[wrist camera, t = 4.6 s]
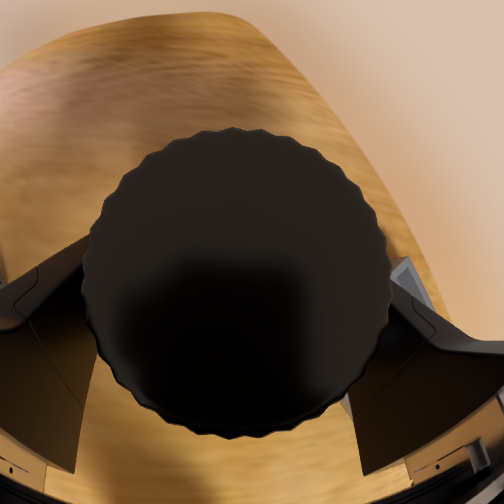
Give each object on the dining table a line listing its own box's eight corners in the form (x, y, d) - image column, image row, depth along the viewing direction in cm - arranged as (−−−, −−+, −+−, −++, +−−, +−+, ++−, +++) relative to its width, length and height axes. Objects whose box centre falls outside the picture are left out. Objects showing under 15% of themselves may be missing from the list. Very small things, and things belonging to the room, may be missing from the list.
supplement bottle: (146, 244, 15) (27, 126, 4) (264, 219, 17) (366, 72, 5) (174, 365, 14) (103, 505, 3) (293, 336, 16) (457, 395, 4)
